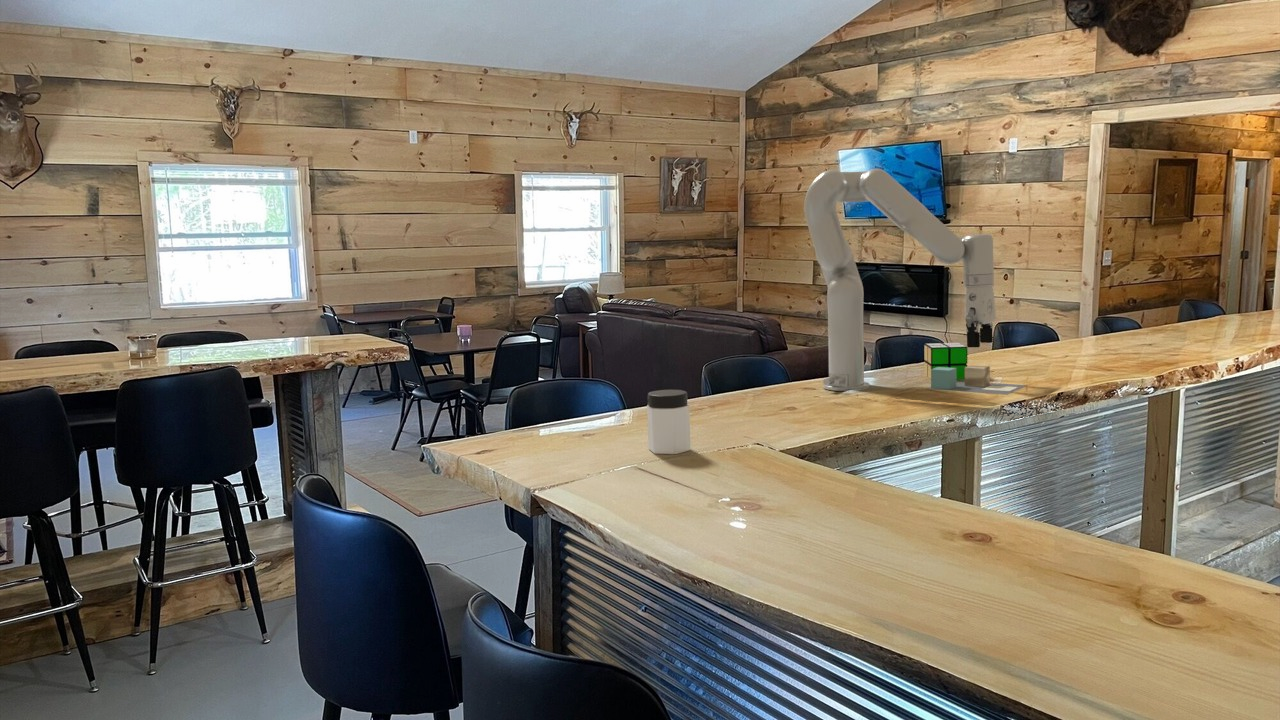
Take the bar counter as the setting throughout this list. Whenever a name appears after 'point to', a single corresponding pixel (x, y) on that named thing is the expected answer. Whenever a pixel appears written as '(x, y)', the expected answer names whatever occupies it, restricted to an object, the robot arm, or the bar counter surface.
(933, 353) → the puzzle cube
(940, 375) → the teal block
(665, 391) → the jar
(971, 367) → the maple block
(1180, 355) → the bar counter surface
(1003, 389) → the slate board
